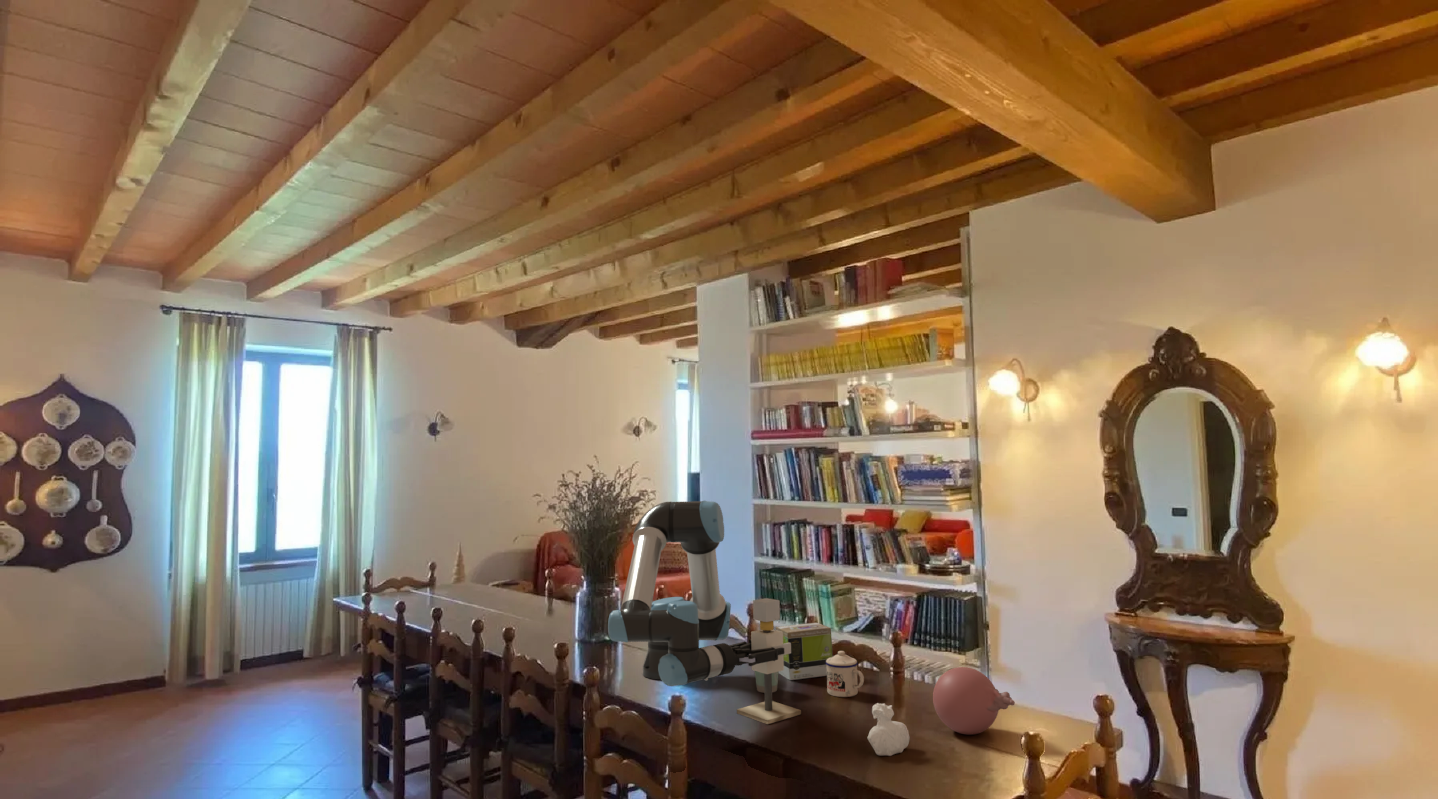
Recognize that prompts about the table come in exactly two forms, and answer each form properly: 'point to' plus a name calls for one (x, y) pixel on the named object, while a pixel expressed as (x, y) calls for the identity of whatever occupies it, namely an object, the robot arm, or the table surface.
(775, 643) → the marker sleeve
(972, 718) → the balloon
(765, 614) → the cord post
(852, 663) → the teacup with lid
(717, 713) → the table surface
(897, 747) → the bust
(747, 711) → the tan slab base
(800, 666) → the tea box
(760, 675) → the coffee cup
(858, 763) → the table surface
